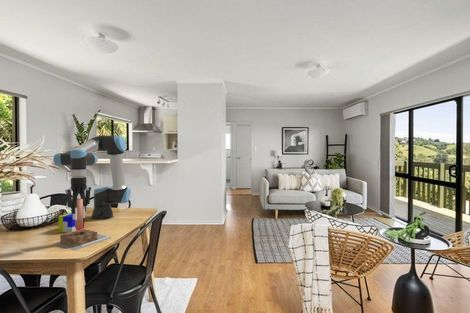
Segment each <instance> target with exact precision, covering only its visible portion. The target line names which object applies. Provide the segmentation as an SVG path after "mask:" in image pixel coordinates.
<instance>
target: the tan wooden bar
mask: <svg viewBox="0 0 470 313" xmlns="http://www.w3.org/2000/svg"><path fill="white" fill-rule="evenodd" d="M75 208H77V220H75V228H82V227H83V199H82V198H81V197H79V198H77V202H76V207H75Z"/></svg>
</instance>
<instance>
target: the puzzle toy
mask: <svg viewBox="0 0 470 313" xmlns="http://www.w3.org/2000/svg"><path fill="white" fill-rule="evenodd" d="M82 229H85V218H83V227H82V228H75V220H74V219H73V214H72V213H71V212H69V213H66V214H65V213H64V214H62V215H58V232H59V233H71V232H74V231H78V230H82Z"/></svg>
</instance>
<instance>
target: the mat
mask: <svg viewBox="0 0 470 313" xmlns="http://www.w3.org/2000/svg"><path fill="white" fill-rule="evenodd" d="M105 237H109V238H106V239H103V240H100V241H97V242H94V243H91V244H88V245H85V246H81V245H80V246H77V247H72V246H68V245H65V244H61V243H60V241H59V242H54V243H53V245H54V246H59V247H62V248H66V249H69V250H72V251H78V250H80V249H83V248H86V247H90V246H92V245H95V244H98V243H101V242H104V241H107V240H110V239H112V238H113V237H112V236H109V235H108V236H107V235H104V234H98V233H97V239H98V240H99V239H102V238H105ZM95 241H96V240H95ZM92 242H93V241H92ZM89 243H90V242H89ZM86 244H87V243H86ZM83 245H84V244H83Z"/></svg>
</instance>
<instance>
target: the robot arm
mask: <svg viewBox="0 0 470 313" xmlns="http://www.w3.org/2000/svg"><path fill="white" fill-rule="evenodd" d="M126 150H127V142H126V140H125V138H124V137H123V135H97V136H95V137H91V138H89V139H87V140H86V141H85V142H84V143H81V144H80V145H78V146H76V147H74V148H72V149H70V150H68V151H66V152H58V153H55V154H54V156H53V158H52V159H53V163H54V164H55V166H61V167H63V166H64V167H67V166H68V167H69V166H70V177H71V178H70V188H68V189H65V191H64V192H65V194H66V204H67V208H70V213H72V214H73V219H74V220H77V208H75V207H76V202H77V199H78V197H79V198H82V199H83V218H84V219H85V218H86V212H87V206H88V205H90V203H91V190H92V187H91V186H87V177H86V176H88V175H87V167H88V166H90V167H91V166H95V165H96V164H97V162H98V160H99V159H98V155H97V154H95V152H106V155H107V156H109V163H110V171H111V179H112V186H103V187H98V188H94V191H93V210H92V213H91V219H94V220H101V219H109V218H112V217H113V216H114V212H113V210H112V205H111V204H127V203H128V202H130V201H129V200H130V198H131V194H132V193H131V189H130V187H128V185H127V184H126V181H125V173H124V163H123V155H124V153H125V151H126Z"/></svg>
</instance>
